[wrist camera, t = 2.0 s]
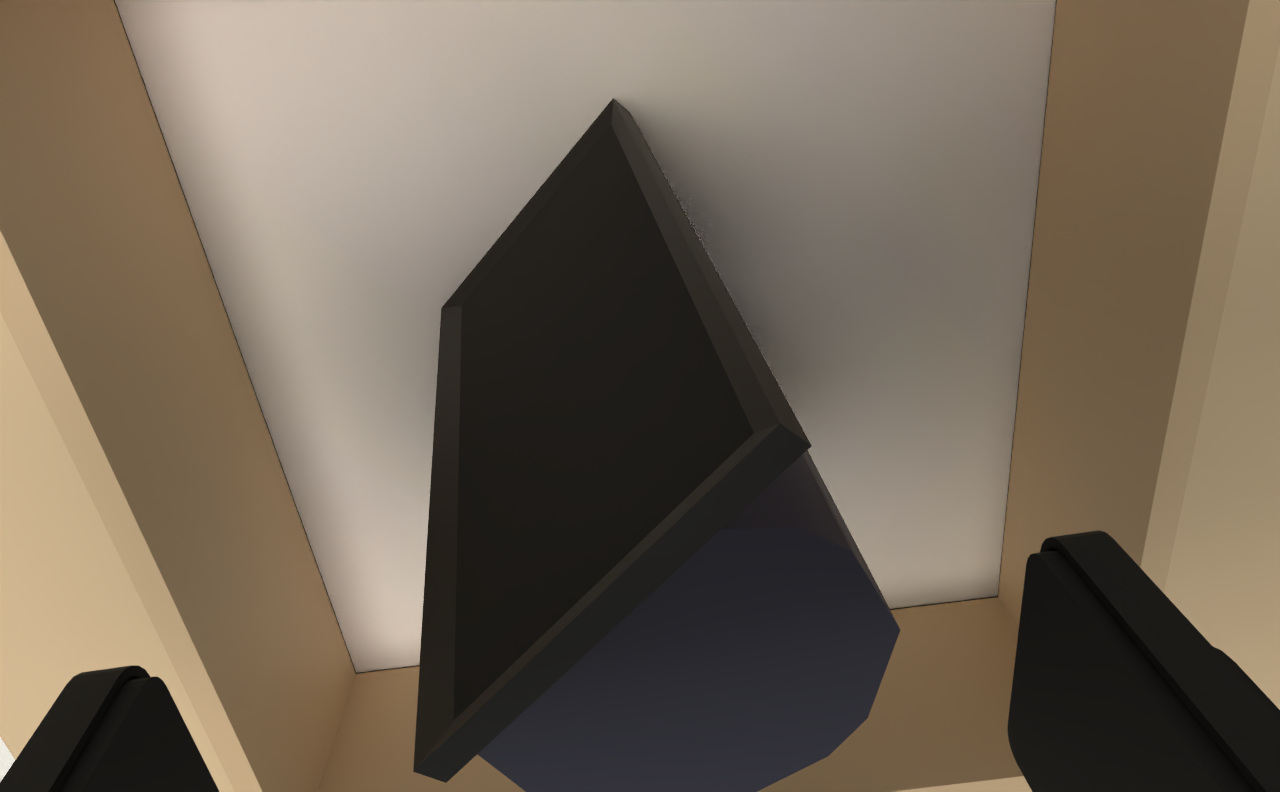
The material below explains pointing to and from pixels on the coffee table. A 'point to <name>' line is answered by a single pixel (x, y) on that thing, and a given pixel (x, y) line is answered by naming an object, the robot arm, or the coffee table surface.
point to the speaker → (628, 515)
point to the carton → (387, 700)
